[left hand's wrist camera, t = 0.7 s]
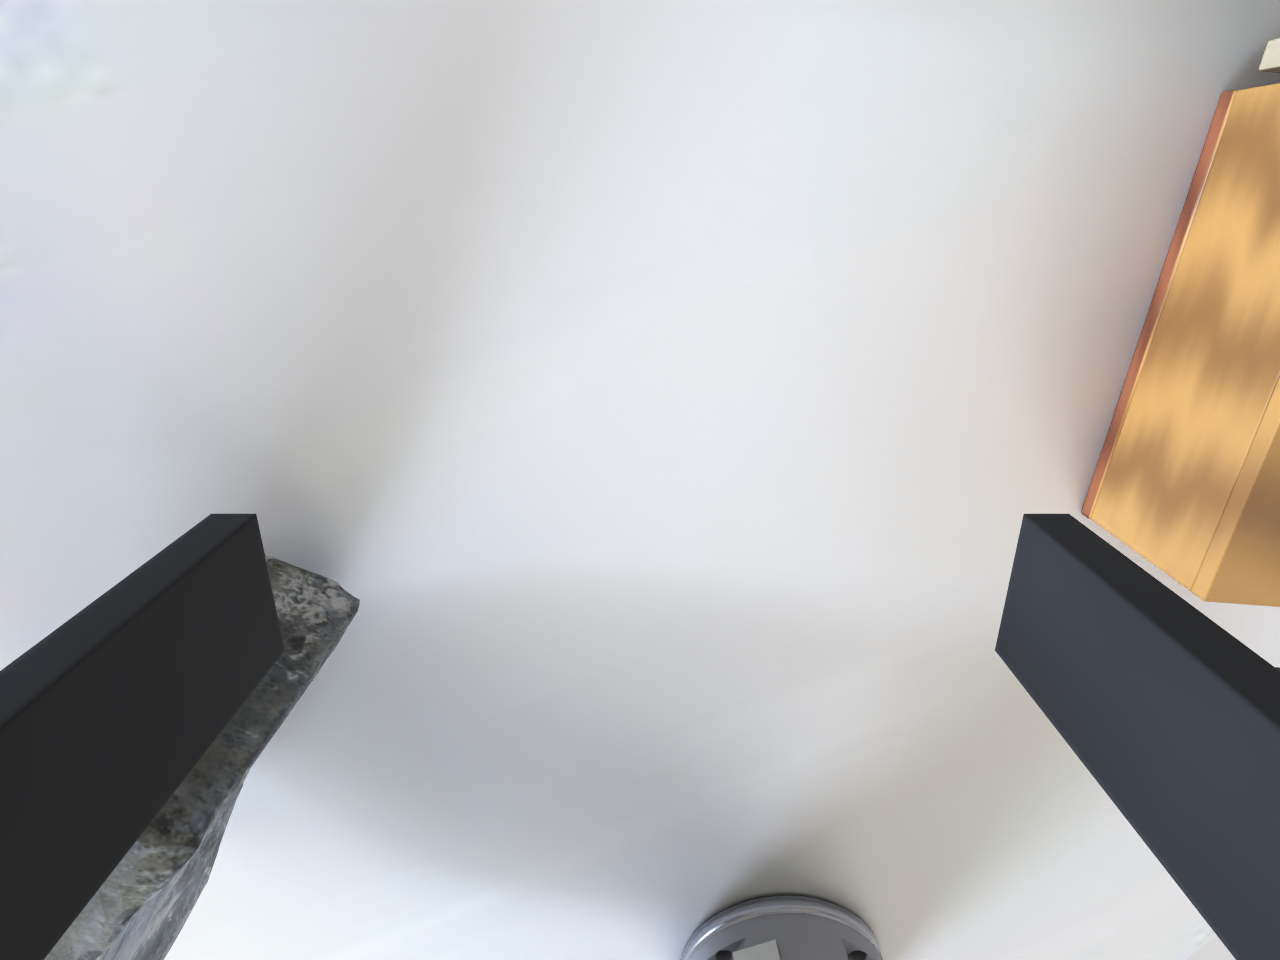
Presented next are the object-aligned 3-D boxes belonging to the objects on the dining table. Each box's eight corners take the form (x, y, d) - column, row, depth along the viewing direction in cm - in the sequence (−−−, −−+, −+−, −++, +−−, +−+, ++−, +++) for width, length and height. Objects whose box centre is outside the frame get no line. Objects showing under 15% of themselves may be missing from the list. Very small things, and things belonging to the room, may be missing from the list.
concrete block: (258, 500, 41) (-54, 752, 23) (399, 575, 43) (216, 866, 24) (107, 802, 49) (-213, 1168, 31) (231, 854, 51) (-2, 1231, 33)
